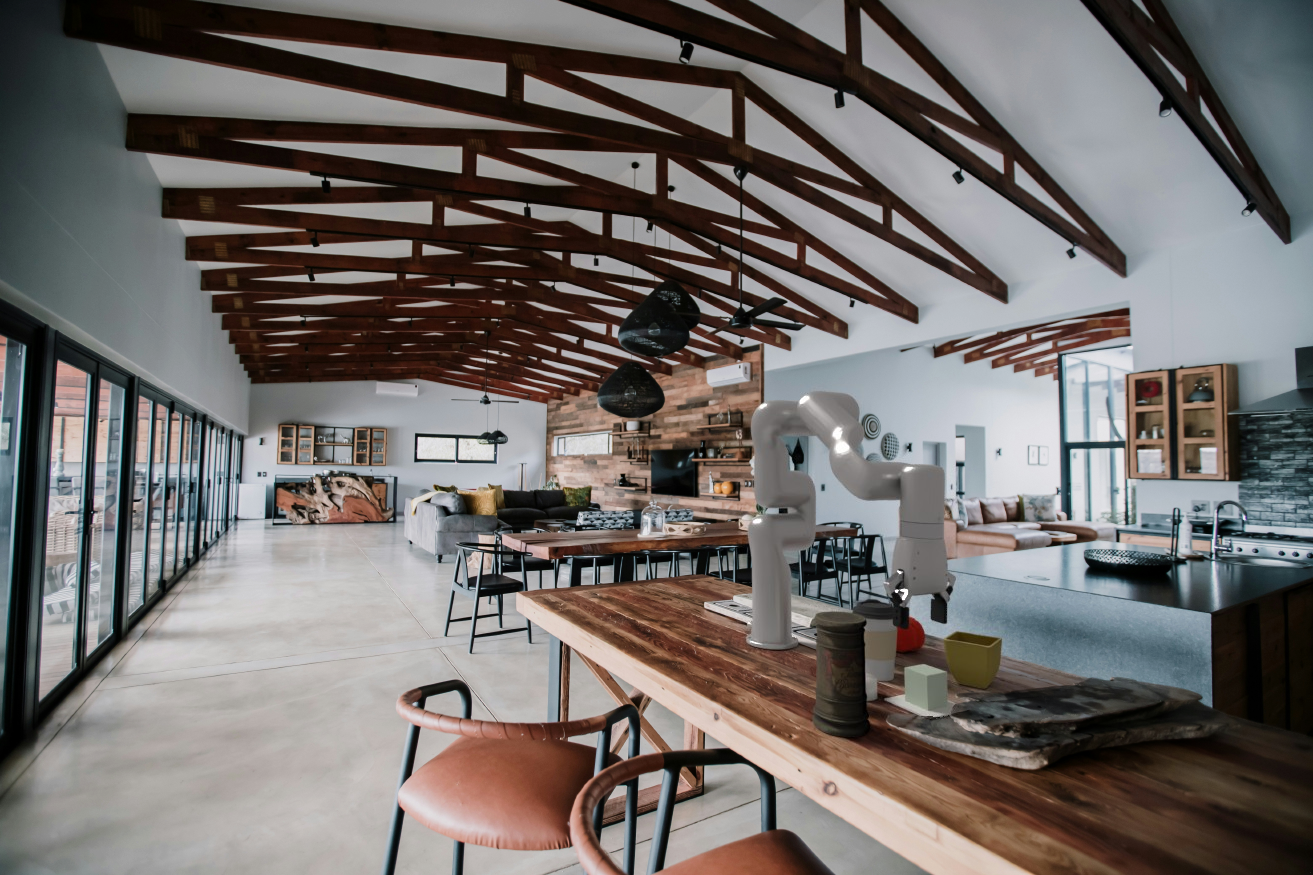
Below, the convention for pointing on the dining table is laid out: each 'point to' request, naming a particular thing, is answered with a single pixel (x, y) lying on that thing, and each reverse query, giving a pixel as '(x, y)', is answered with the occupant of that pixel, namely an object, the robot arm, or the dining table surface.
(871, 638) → the coffee cup
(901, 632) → the tomato
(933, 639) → the dining table surface
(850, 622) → the container
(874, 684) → the white rounded upright piece
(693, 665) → the dining table surface
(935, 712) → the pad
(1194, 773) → the dining table surface
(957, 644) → the flower pot
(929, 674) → the sage block
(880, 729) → the dining table surface
